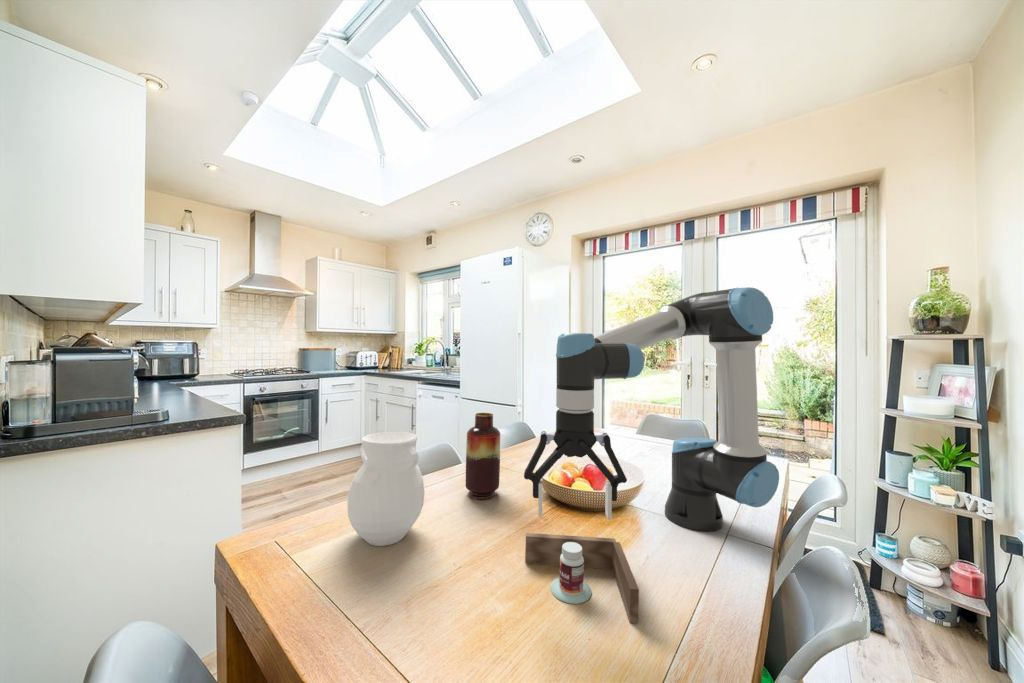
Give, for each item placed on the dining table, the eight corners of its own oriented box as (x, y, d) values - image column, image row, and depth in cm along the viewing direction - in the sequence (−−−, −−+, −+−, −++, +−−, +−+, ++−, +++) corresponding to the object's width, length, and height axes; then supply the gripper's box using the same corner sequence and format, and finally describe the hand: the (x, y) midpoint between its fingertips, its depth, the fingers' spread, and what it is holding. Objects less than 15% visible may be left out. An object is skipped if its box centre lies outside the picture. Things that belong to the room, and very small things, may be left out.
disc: (588, 579, 78) (588, 577, 78) (593, 605, 71) (593, 604, 71) (550, 576, 79) (550, 575, 79) (551, 602, 71) (551, 600, 71)
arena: (617, 565, 84) (618, 538, 84) (638, 623, 66) (638, 589, 66) (525, 559, 85) (526, 532, 85) (521, 614, 68) (522, 581, 68)
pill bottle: (554, 584, 76) (555, 543, 76) (574, 579, 78) (575, 538, 78) (567, 599, 72) (568, 555, 72) (587, 593, 74) (588, 550, 74)
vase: (505, 492, 123) (507, 413, 124) (485, 504, 114) (487, 419, 114) (478, 485, 129) (480, 410, 129) (457, 495, 120) (460, 414, 120)
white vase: (438, 528, 99) (440, 433, 99) (387, 564, 82) (391, 450, 82) (384, 513, 106) (387, 425, 107) (328, 543, 90) (331, 439, 90)
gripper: (633, 407, 78) (632, 509, 78) (514, 405, 80) (513, 504, 80) (643, 414, 70) (642, 526, 70) (511, 411, 72) (510, 521, 72)
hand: (574, 515), depth 75 cm, fingers open, 13 cm apart
